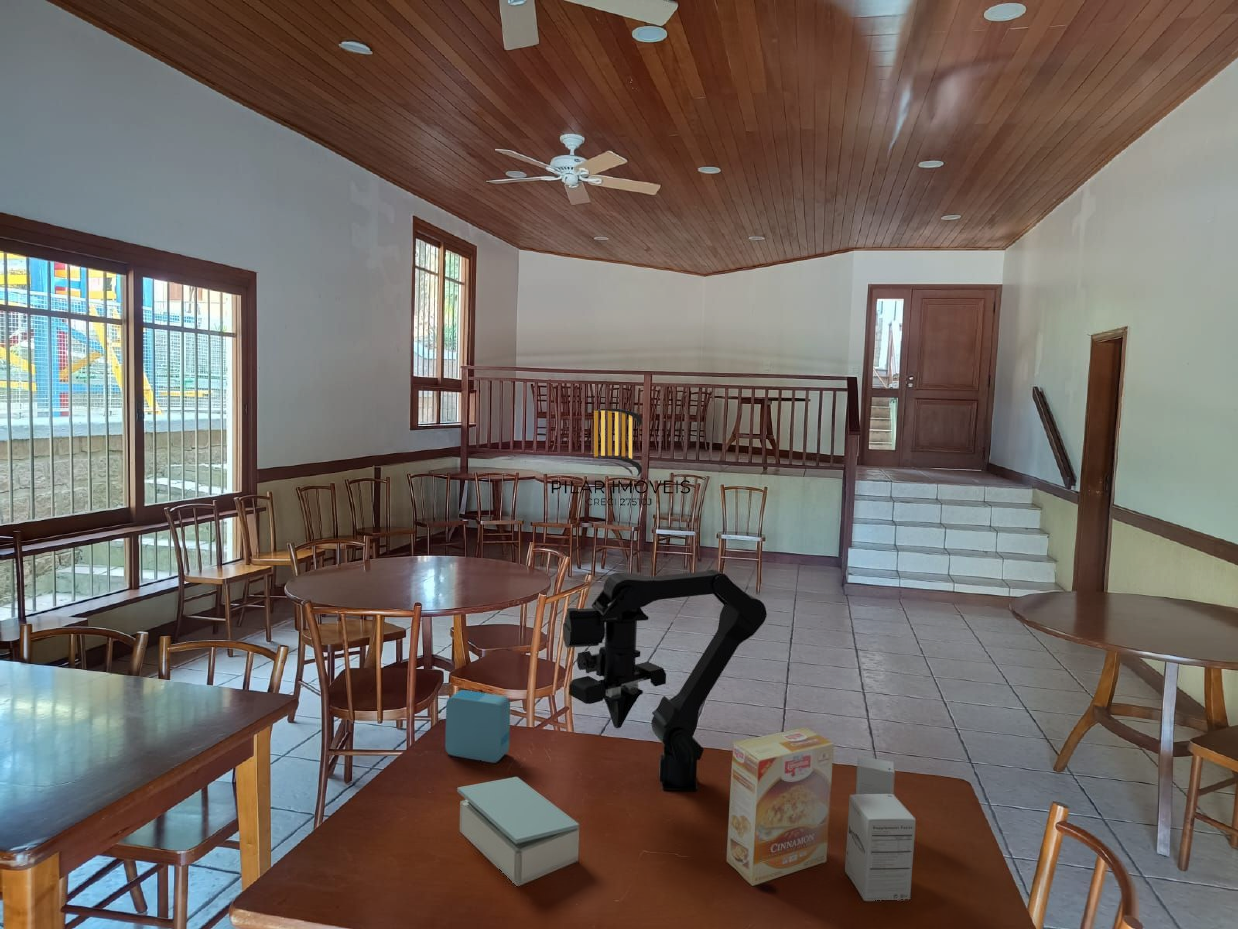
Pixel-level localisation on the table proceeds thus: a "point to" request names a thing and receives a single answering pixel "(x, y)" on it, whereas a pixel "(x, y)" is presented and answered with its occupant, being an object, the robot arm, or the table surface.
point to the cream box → (518, 847)
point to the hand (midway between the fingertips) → (617, 727)
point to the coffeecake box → (779, 804)
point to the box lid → (517, 809)
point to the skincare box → (874, 776)
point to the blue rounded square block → (477, 726)
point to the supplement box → (880, 847)
